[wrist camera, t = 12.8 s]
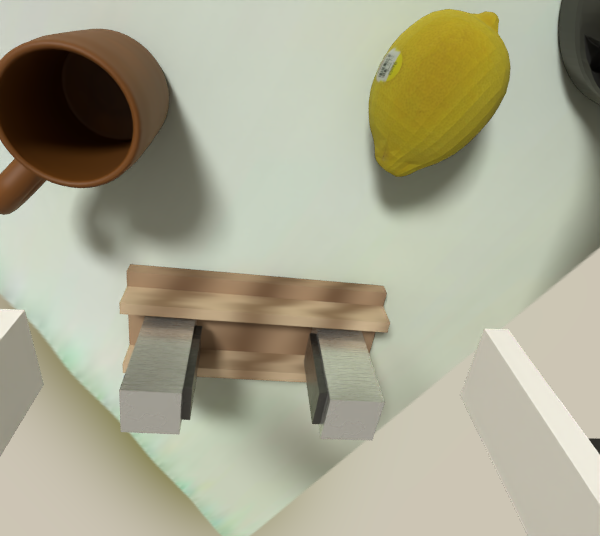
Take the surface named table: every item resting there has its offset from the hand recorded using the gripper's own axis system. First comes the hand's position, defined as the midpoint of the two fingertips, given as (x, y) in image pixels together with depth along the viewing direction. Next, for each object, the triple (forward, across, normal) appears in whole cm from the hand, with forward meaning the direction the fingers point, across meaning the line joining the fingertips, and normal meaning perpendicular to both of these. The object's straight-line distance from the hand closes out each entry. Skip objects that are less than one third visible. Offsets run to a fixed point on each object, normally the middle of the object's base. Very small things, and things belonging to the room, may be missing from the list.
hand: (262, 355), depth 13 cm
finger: (+23, +6, -17) cm, 29 cm away
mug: (+23, -12, +2) cm, 26 cm away
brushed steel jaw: (+22, -8, -16) cm, 28 cm away
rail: (+24, 0, -16) cm, 29 cm away
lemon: (+24, +10, +5) cm, 27 cm away
